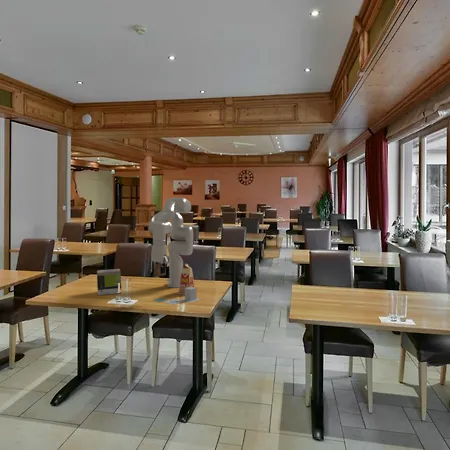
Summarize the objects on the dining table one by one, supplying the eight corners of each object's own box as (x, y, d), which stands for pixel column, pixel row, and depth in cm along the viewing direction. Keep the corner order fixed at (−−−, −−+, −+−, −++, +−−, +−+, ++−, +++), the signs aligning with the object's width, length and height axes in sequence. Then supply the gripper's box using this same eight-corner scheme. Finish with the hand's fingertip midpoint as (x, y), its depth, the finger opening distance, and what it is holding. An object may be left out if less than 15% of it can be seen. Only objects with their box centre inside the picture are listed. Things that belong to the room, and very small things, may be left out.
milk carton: (191, 295, 256) (191, 264, 254) (177, 294, 258) (177, 263, 256) (195, 291, 265) (195, 262, 263) (182, 291, 267) (181, 261, 265)
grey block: (184, 299, 244) (184, 288, 244) (190, 297, 248) (190, 286, 248) (190, 300, 241) (190, 289, 241) (196, 299, 245) (196, 288, 244)
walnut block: (153, 274, 242) (153, 263, 241) (160, 273, 246) (160, 262, 245) (159, 276, 239) (159, 264, 238) (165, 274, 242) (165, 263, 242)
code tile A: (163, 302, 239) (163, 301, 239) (174, 299, 246) (174, 298, 246) (173, 305, 233) (173, 304, 233) (184, 301, 240) (184, 301, 240)
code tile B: (180, 300, 244) (180, 299, 244) (190, 297, 251) (190, 296, 251) (190, 302, 238) (190, 302, 238) (201, 299, 245) (201, 299, 245)
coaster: (152, 300, 243) (152, 300, 243) (161, 298, 248) (161, 297, 248) (159, 302, 238) (159, 302, 238) (168, 300, 244) (168, 299, 244)
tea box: (120, 290, 271) (120, 268, 269) (121, 293, 261) (121, 271, 260) (97, 291, 266) (96, 269, 265) (97, 295, 256) (96, 272, 255)
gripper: (145, 242, 243) (146, 272, 245) (163, 244, 232) (164, 275, 234) (155, 241, 249) (155, 270, 250) (173, 243, 238) (173, 273, 239)
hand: (159, 272), depth 242 cm, fingers closed on walnut block, 5 cm apart
